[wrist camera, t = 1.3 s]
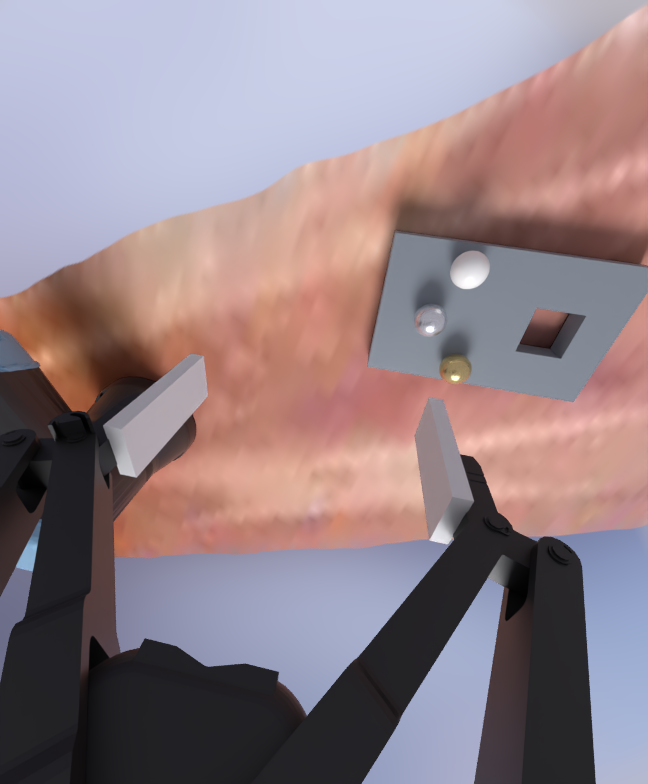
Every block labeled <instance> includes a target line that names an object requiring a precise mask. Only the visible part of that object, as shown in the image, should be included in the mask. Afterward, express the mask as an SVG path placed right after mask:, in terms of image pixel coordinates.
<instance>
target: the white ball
mask: <svg viewBox="0 0 648 784" xmlns="http://www.w3.org/2000/svg"><path fill="white" fill-rule="evenodd" d="M489 270H490V264H489V260H488V258H487V257H486V256H485V255H484V254H483V253H481V252H479V251H467V252H464V253H462V254H461V255H459V256H458V257H457V258H456V259H455V260H454V262H453V264H452V266H451V269H450V277H451V280H452V282H453V283H454V284H455V285H456V286H457V287H459V288H462V289H472V288H475V287H477V286H479V285H480V284H482V283H483V282H484V281H485V279H486V278H487V276H488V274H489Z"/></svg>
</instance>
